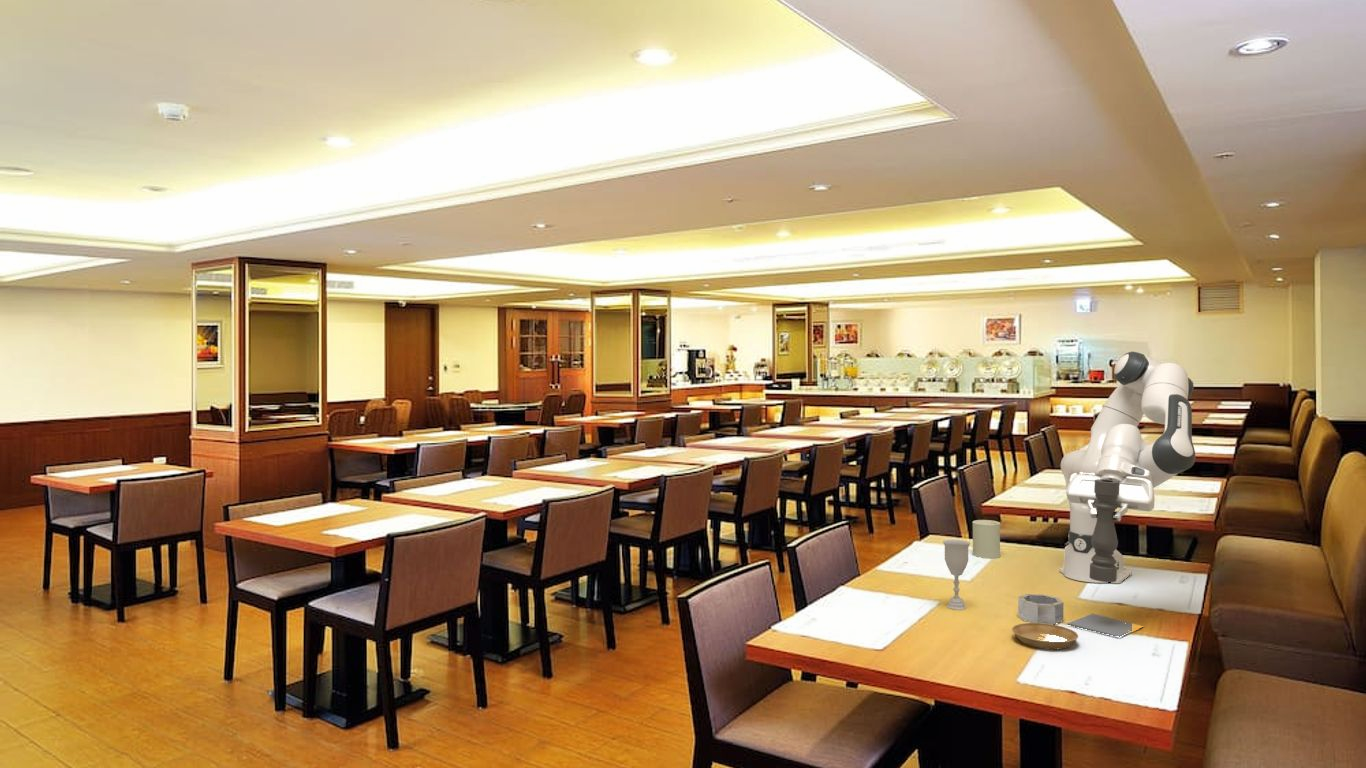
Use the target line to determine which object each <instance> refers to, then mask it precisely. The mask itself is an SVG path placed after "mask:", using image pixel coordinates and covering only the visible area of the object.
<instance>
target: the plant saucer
mask: <svg viewBox="0 0 1366 768" xmlns="http://www.w3.org/2000/svg"><path fill="white" fill-rule="evenodd" d="M1011 630H1012V632H1013V634H1014V635H1015V636H1016V638H1017V639H1018V640H1020V641H1021V642H1022V643H1023V644H1025V645H1028V646H1031V647H1033V648H1038V647H1039V648H1038V649H1044V648H1049V649H1048V650H1058V649H1057V648H1062V649H1066V648H1069V647H1070V646H1071V645H1073V644H1074V643H1075V642H1076V640H1078V639H1079V634H1078V633H1077V632H1076V631H1075V630H1072V629H1070V628H1068V627H1065V626H1062V625H1058V624H1056V625H1052V624H1045V623H1031V622H1024V623H1019V624H1015V625H1014V626H1012V627H1011ZM1040 634H1049V635H1056V636H1059V637H1063V638H1065V639H1067V641H1065V642H1049V641H1040V640H1041V639H1040V640H1037V639H1039V638H1038V637H1043V638H1045V637H1044V636H1042V635H1040ZM1065 647H1066V648H1065Z"/></svg>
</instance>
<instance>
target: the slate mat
mask: <svg viewBox="0 0 1366 768" xmlns="http://www.w3.org/2000/svg"><path fill="white" fill-rule="evenodd" d="M1125 623H1126V624H1125ZM1132 623H1133V622H1131V621H1130V622H1129V621H1127V620H1122V619H1118V618H1113V617H1108V616H1103V615H1102V614H1101V615H1100V614H1096V613H1090V614H1088V615H1085V616H1082V617H1080V618H1078V619H1075V620H1073V621H1070V622H1068V623H1067V624H1066V625H1071V626H1075V627H1079V628H1083V629H1087V630H1091V631H1096V632H1100V633H1104V634H1109V635H1113V636H1119V637H1120V636H1122V635H1124V634H1126V633H1128V632H1129V631H1132ZM1128 630H1129V631H1128Z"/></svg>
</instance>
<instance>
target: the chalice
mask: <svg viewBox="0 0 1366 768" xmlns="http://www.w3.org/2000/svg"><path fill="white" fill-rule="evenodd" d="M942 543H943V545H944V561H945V563H946V566H947V568H948V571H949V573H950V574H951V575H952V576H954V577H953V578H954V581H953V582H952V583H953V585H954V587H953V589H952V590H953V592H954V594H953V597H951V598H950V599H949V601H948V604H947V605H946V607H947V608H948V609H951V610H958V611H961V610H966V609H967V606H966V604H965V602H964V600H963V598H961V597H960V596H959V591H961V589H960V588H959V584H960V581H959V577H960V576H962V575H963V573H964V572H965V569H966V568H967V565H968V563H969V546H970V544H971V541H968V540H964V539H953V538H952V539H944V540H942Z"/></svg>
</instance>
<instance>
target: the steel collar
mask: <svg viewBox="0 0 1366 768" xmlns="http://www.w3.org/2000/svg"><path fill="white" fill-rule="evenodd" d="M1017 606H1018V607H1017V614H1018V615H1017V616H1018V617H1019V618H1020V619H1021V620H1022V621H1024V622H1026V623H1045V624H1056V623H1058V622H1061V621H1063V622H1064V601H1063V600H1061V599H1060V597H1057V596H1053V595H1047V594H1044V593H1025V594H1023V595H1022V594H1021V595H1019V596H1018V597H1017ZM1061 623H1062V622H1061ZM1058 624H1059V623H1058ZM1056 625H1057V624H1056Z"/></svg>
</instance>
